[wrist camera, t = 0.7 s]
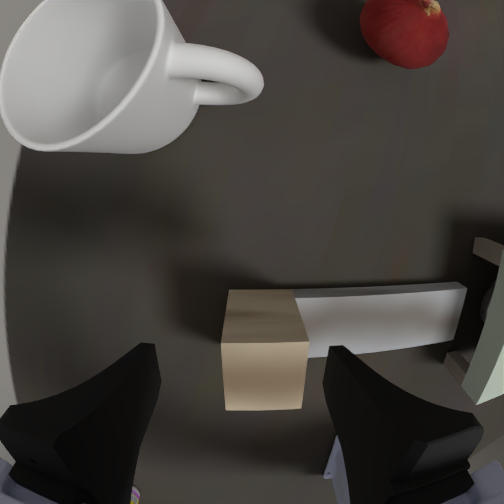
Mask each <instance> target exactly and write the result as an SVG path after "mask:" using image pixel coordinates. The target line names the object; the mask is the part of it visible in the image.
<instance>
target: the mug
mask: <svg viewBox="0 0 504 504" xmlns="http://www.w3.org/2000/svg"><path fill="white" fill-rule="evenodd" d="M201 79H204V80H211V81H217V82H221V83H212V82H201ZM263 87H264V82H263V77H262V75H261V73H260V71H259V69H258V68H257V67H256V66H255V65H253V64H252V63H251V62H249V61H248V60H246V59H244V58H243V57H241V56H239V55H237V54H234V53H231V52H229V51H226V50H222V49H219V48H215V47H210V46H205V45H198V44H190V43H185V41H184V39H183V37H182V35H181V33H180V31H179V30H178V28H177V26H176V24H175V22H174V21H173V19H172V17H171V15H170V13H169V12H168V10H167V8H166V6H165V4H164V3H163V1H162V0H43V2H41V3H40V4H39V5H38V6H37V7H36V8H35V9H34V10H33V11H32V12H31V14H30V15H29V16H28V17H27V18H26V20H25V21H24V22H23V23H22V25H21V26H20V28H19V29H18V31H17V32H16V34H15V36H14V38H13V40H12V42H11V43H10V45H9V48H8V50H7V52H6V55H5V57H4V60H3V63H2V67H1V71H0V114H1V117H2V120H3V122H4V124H5V126H6V128H7V130H8V132H9V133H10V134H11V135H12V137H13V138H14V139H16V140H17V141H18V142H19V143H20V144H22V145H24V146H26V147H28V148H30V149H34V150H37V151H58V152H99V153H119V154H140V153H147V152H151V151H154V150H157V149H159V148H162V147H164V146H165V145H167V144H169V143H171V142H172V141H173V140H175V139H176V138H177V137H178V136H180V135H181V134H182V133H183V132H184V131H185V129H186V128H187V127H188V126H189V124H190V123H191V121H192V120H193V118H194V116H195V114H196V112H197V110H198V107H199V104H200V105H232V104H241V103H245V102H248V101H250V100H253V99H255V98H256V97H257V96H258V95H259V94H260V93H261V91H262V89H263Z"/></svg>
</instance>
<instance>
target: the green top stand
mask: <svg viewBox="0 0 504 504" xmlns="http://www.w3.org/2000/svg"><path fill="white" fill-rule="evenodd" d="M472 253H473V254H475V255H478V256H480V257H482V258H484V259H486V260H487V261H489V262H491V263H493V264H495V265H497V266H499V271H498V276H497V280H496V284H495V288H494V292H493V296H492V300H491V304H490V307H489V311H488V314H487V318H486V321H485V324H484V327H483V330H482V333H481V336H480V339H479V342H478V345H477V348H476V350H475V353H474V356H473V358H472V361H471V363H470V364H469V363H468V362H467V361H466V360H465V359H464V358H463V356H462V355H461V354H460V353H459V352H458V351H453V352H448V353H447V354H446V357H445V360H444V363H443V365H444V366H445V367H446V368H447V369H448V371H449V372H450V373H451V374H452V376H453V377H454V378H455V379H456V380H457V382H458V383H459V384H460V385H461V387H462V388H463V389H464V390H465V392H466V393H467V394H468V395H469V397H470V398H471V399H472V400H473V402H474V403H475V404H476V405H478V404H480V403H483V402H485V401H488V400H490V399H492V398H495V397H497V396H499V395H502V394H504V245H501V244H499V243H497V242H494V241H492V240H489V239H487V238H482V237H475V239H474V246H473V252H472Z"/></svg>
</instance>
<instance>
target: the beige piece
mask: <svg viewBox="0 0 504 504" xmlns="http://www.w3.org/2000/svg"><path fill="white" fill-rule="evenodd" d="M466 291H467V288H466V287H465V286H463V285H462V284H460V283H459V282H445V283H430V284H414V285H395V286H375V287H350V288H319V289H264V290H229V293H228V300H227V306H226V313H225V319H224V326H223V333H222V339H221V352H222V366H223V380H224V393H225V406H226V410H283V409H301V406H302V399H303V391H304V384H305V376H306V367H307V359H308V358H311V357H327V356H328V350H329V346H337V345H344V346H345V347H346V348H347V349H349V350H350V351H351V352H352V353H353V354H361V353H370V352H379V351H387V350H395V349H402V348H409V347H415V346H422V345H428V344H434V343H439V342H445V341H450V340H453V339H454V335H455V332H456V329H457V325H458V322H459V319H460V315H461V311H462V307H463V304H464V300H465V296H466Z"/></svg>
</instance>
